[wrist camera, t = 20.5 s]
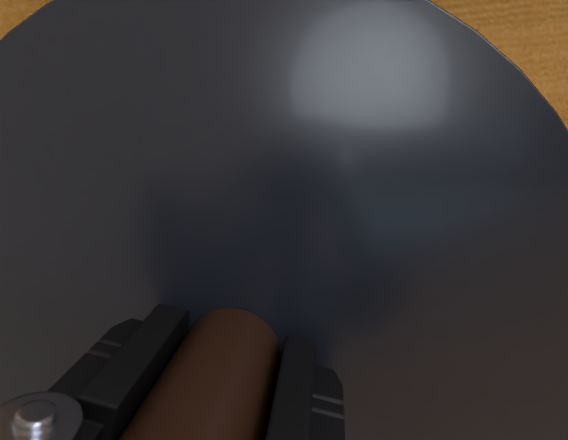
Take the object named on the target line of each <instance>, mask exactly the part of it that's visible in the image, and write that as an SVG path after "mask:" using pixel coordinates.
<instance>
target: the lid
mask: <svg viewBox="0 0 568 440" xmlns="http://www.w3.org/2000/svg"><path fill="white" fill-rule="evenodd" d="M158 304H164V305H168V306H172V307H176V308H180V309H184V310H188V311H189V312H190V319H189V325H188V331H187V335H186V336H185V338H184V339H183V341H182V342H181V344H180V345H179V347H178V348H177V350H176V352H175V353H174V355H173V356H172V358H171V359H170V361H169V362H168V364H167V365H166V367H165V368H164V370H163V372H162V373H161V375H160V376H159V378H158V379H157V381H156V382H155V384H154V385H153V387H152V389H151V390H150V392H149V393H148V395H147V396H146V398H145V399H144V401H143V402H142V404H141V405H140V407H139V409H138V410H137V412H136V413H135V415H134V416H133V418H132V419H131V421H130V422H129V424H128V425H127V427H126V429H125V430H124V432H123V433H122V435H121V436H120V438H119V439H118V440H264V439H265V434H266V429H267V424H268V419H269V414H270V409H271V404H272V400H273V395H274V390H275V385H276V380H277V375H278V370H279V365H280V361H281V356H282V352H283V348H284V344H285V340H286V336H291V337H295V338H299V339H303V340H307V341H311V342H315V343H316V353H315V365H318V366H322V367H326V368H330V369H334V371H335V373H336V374H337V376H338V378H339V380H340V381H341V383H342V385H343V397H344V403H343V405H344V421H345V440H568V130H567V128H566V126H565V125H564V123H563V121H562V120H561V118H560V116H559V115H558V113H557V112H556V111H555V110H554V108H553V107H552V106H551V105H550V104H549V102H548V101H547V100H546V99H545V98H544V96H543V95H542V94H541V93H540V92H539V91H538V89H537V88H536V87H535V86H534V85H533V83H532V82H531V81H530V80H529V79H528V77H527V76H526V75H525V74H524V73H523V72H522V70H521V69H520V68H519V67H517V66H516V65H515V64H514V63H513V62H512V61H511V60H509V59H508V58H507V57H506V56H505V55H504V54H503V53H501V52H500V51H499V50H498V49H497V48H496V47H495V46H493V45H492V44H491V43H490V42H489V41H488V40H487V39H485V38H484V37H483V36H482V35H481V34H480V33H479V32H477V31H476V30H475V29H473V28H471V27H470V26H468V25H467V24H465V23H464V22H462V21H461V20H459V19H457V18H456V17H454V16H453V15H451V14H450V13H448V12H447V11H445V10H444V9H442V8H440V7H439V6H437V5H436V4H434V3H433V2H431V1H430V0H52V1H50V2H48V3H47V4H46V5H44V6H43V7H42V8H40V9H39V10H37V11H36V12H35V13H33V14H32V15H31V16H29V17H28V18H27V19H25V20H24V21H23V22H21V23H20V24H18V25H17V26H16V27H14V28H13V29H12V30H10V31H9V32H8V33H7V34H6V35H5V36H4V37H3V38H2V39H1V40H0V405H2V404H3V403H5V402H7V401H9V400H10V399H13V398H15V397H18V396H21V395H24V394H28V393H33V392H40V391H48V390H49V389H50V388H51V387H52V386H53V385H54V384H55V383H56V382H57V381H58V380H59V379H60V378H61V377H62V376H63V375H64V374H65V373H66V372H67V371H68V370H69V369H70V368H71V367H72V366H73V365H74V364H75V363H76V362H77V361H78V360H79V359H80V358H81V357H82V356H83V355H84V354H85V353H88V351H89V349H90V348H91V347H92V346H93V345H94V344H95V343H96V342H99V340H100V338H101V337H102V336H103V335H104V334H105V333H106V332H107V331H108V330H109V329H110V328H111V327H113V326H115V325H117V324H119V323H122V322H124V321H126V320H128V319H131V318H133V319H137V320H141V321H143V320H144V319H145V318H146V317H147V316H148V315H149V314H150V313H151V312H152V310H153V309H154V308H155V307H156V306H157V305H158Z"/></svg>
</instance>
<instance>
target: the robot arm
mask: <svg viewBox="0 0 568 440" xmlns="http://www.w3.org/2000/svg"><path fill="white" fill-rule="evenodd" d="M189 319H190V312H189V311H188V310H184V309H180V308H176V307H172V306H168V305H164V304H158V305H157V306H156V307H155V308H154V309H153V310H152V312H151V313H150V314H149V315H148V316H147V317H146V318H145V319H144V320H143V321H141V320H137V319H133V318H131V319H128V320H126V321H124V322H122V323H119V324H117V325H115V326H113V327H111V328H110V329H109V330H108V331H107V332H106V333H105V334H104V335H103V336H102V337H101V338H100V340H99V342H96V343H95V344H94V345H93V346H92V347H91V348H90V349H89V351H88V353H85V354H84V355H83V356H82V357H81V358H80V359H79V360H78V361H77V362H76V363H75V364H74V365H73V366H72V367H71V368H70V369H69V370H68V371H67V372H66V373H65V374H64V375H63V376H62V377H61V378H60V379H59V380H58V381H57V382H56V383H55V384H54V385H53V386H52V387H51V388H50V389H49V390H48V391H40V392H33V393H28V394H24V395H21V396H18V397H15V398H13V399H10V400H9V401H7V402H5V403H3V404H2V405H0V440H118V439H119V438H120V436H121V435H122V433H123V432H124V430H125V429H126V427H127V425H128V424H129V422H130V421H131V419H132V418H133V416H134V415H135V413H136V412H137V410H138V409H139V407H140V405H141V404H142V402H143V401H144V399H145V398H146V396H147V395H148V393H149V392H150V390H151V389H152V387H153V385H154V384H155V382H156V381H157V379H158V378H159V376H160V375H161V373H162V372H163V370H164V368H165V367H166V365H167V364H168V362H169V361H170V359H171V358H172V356H173V355H174V353H175V352H176V350H177V348H178V347H179V345H180V344H181V342H182V341H183V339H184V338H185V336H186V335H187V331H188V325H189ZM315 353H316V343H315V342H311V341H307V340H303V339H299V338H295V337H291V336H286V340H285V344H284V348H283V352H282V356H281V361H280V365H279V370H278V375H277V380H276V385H275V390H274V395H273V400H272V404H271V409H270V414H269V419H268V424H267V429H266V434H265V439H264V440H345V421H344V405H343V403H344V397H343V385H342V383H341V381H340V380H339V378H338V376H337V374H336V373H335V371H334V369H330V368H326V367H322V366H318V365H315Z"/></svg>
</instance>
